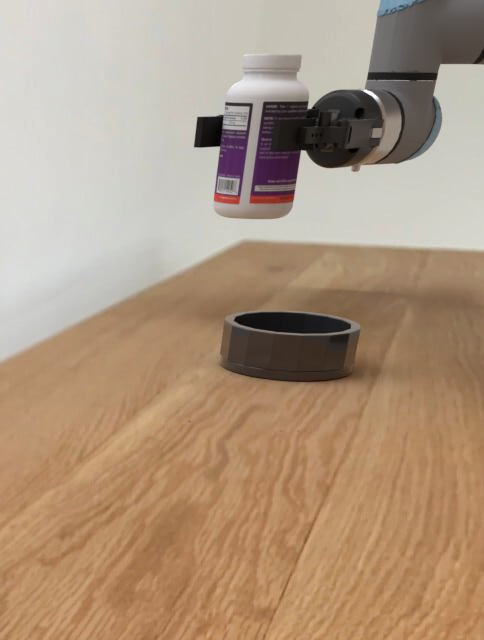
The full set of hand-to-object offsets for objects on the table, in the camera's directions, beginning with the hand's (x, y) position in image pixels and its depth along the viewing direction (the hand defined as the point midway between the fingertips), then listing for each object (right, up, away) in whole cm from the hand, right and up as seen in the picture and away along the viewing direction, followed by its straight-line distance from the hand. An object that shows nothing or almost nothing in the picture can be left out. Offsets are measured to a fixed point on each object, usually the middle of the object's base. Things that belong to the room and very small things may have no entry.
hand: (236, 133), depth 108 cm
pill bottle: (+3, -5, +7) cm, 9 cm away
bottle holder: (+2, -25, -8) cm, 27 cm away
